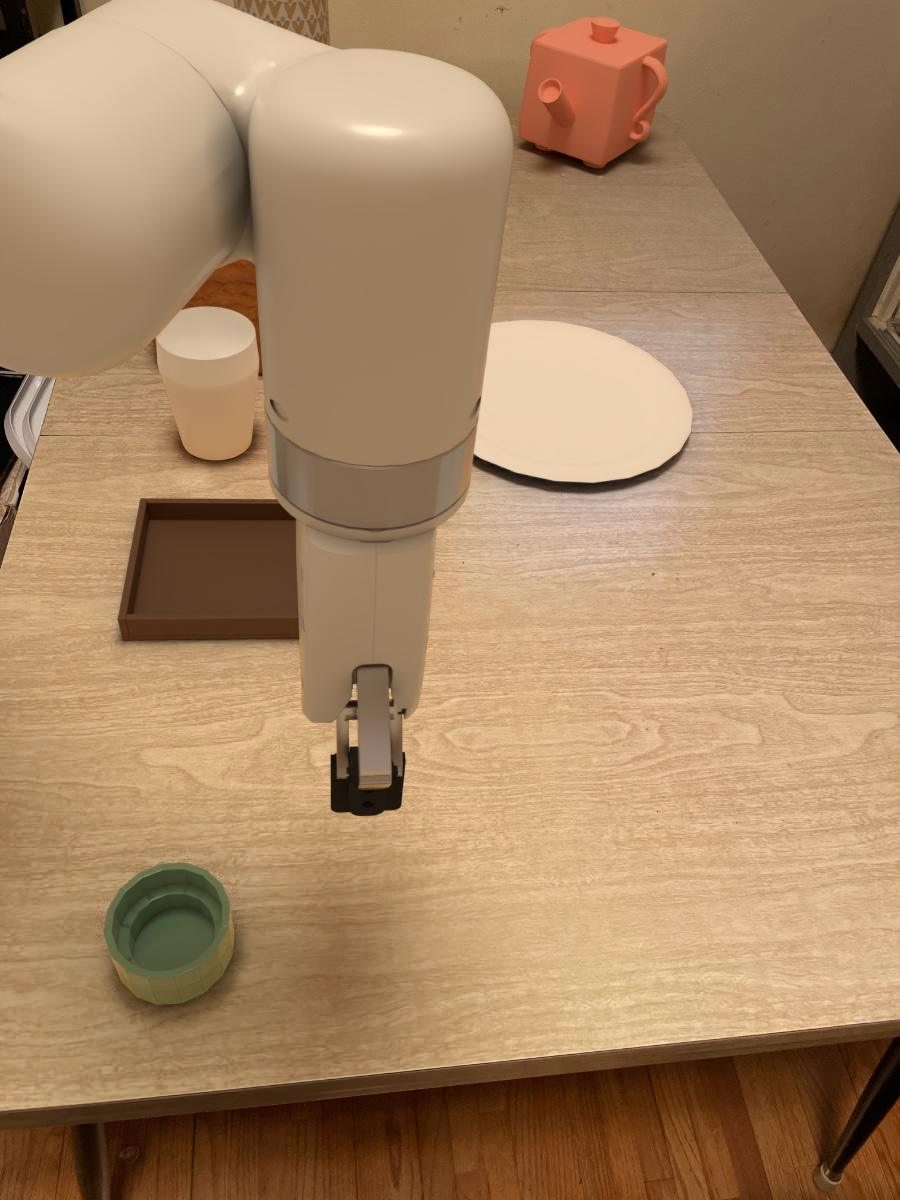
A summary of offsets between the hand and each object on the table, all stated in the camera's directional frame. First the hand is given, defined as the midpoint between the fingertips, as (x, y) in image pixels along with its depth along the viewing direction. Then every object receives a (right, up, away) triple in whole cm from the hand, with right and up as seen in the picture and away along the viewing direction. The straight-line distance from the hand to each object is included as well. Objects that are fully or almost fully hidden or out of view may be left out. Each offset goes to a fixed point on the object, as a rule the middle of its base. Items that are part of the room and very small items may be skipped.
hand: (361, 719), depth 47 cm
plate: (+16, +27, +56) cm, 64 cm away
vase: (-20, +75, +97) cm, 124 cm away
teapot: (+23, +75, +102) cm, 129 cm away
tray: (-14, +8, +35) cm, 38 cm away
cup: (-18, +21, +47) cm, 55 cm away
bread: (-21, +39, +63) cm, 77 cm away
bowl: (-13, -16, +13) cm, 24 cm away
